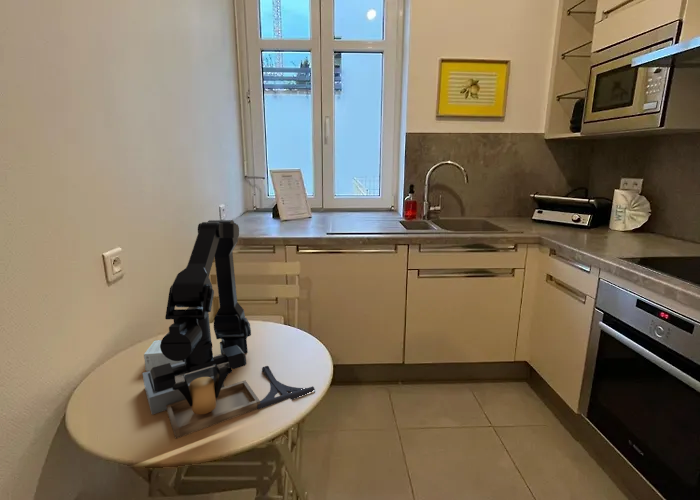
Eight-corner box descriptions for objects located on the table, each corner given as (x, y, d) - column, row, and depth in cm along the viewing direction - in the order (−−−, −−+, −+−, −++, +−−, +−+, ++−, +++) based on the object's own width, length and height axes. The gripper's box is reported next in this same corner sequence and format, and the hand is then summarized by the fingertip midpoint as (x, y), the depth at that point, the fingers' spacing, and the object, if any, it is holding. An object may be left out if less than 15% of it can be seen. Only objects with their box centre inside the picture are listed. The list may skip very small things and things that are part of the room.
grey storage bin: (211, 371, 107) (209, 354, 106) (224, 393, 98) (222, 375, 96) (145, 391, 99) (142, 372, 98) (152, 417, 89) (149, 397, 88)
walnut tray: (246, 389, 99) (245, 380, 99) (260, 410, 91) (260, 401, 91) (167, 415, 90) (166, 405, 89) (176, 441, 82) (174, 431, 81)
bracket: (289, 367, 110) (289, 358, 110) (314, 394, 98) (315, 384, 98) (237, 381, 103) (237, 371, 102) (258, 412, 90) (258, 401, 90)
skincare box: (145, 373, 107) (202, 371, 108) (142, 353, 105) (201, 351, 106) (157, 357, 115) (210, 355, 116) (154, 338, 113) (209, 336, 114)
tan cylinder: (212, 397, 92) (210, 374, 91) (218, 409, 88) (216, 384, 87) (190, 405, 90) (187, 381, 88) (195, 417, 86) (192, 392, 84)
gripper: (229, 313, 96) (234, 371, 100) (142, 333, 86) (151, 396, 90) (244, 330, 87) (249, 394, 91) (149, 354, 77) (159, 424, 81)
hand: (203, 401), depth 89 cm, fingers closed on tan cylinder, 5 cm apart
